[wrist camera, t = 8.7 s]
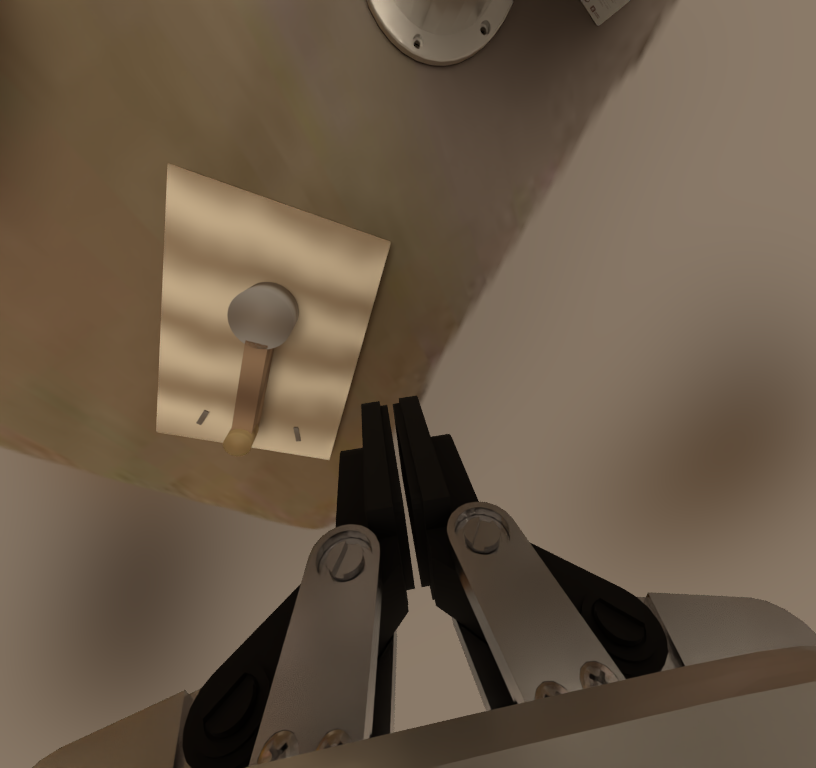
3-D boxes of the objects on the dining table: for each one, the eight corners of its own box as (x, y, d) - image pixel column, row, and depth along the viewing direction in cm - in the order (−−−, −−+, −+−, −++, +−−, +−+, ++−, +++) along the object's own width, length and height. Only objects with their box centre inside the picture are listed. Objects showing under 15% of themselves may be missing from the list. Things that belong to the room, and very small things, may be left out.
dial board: (185, 169, 28) (166, 162, 25) (387, 240, 33) (391, 242, 30) (170, 417, 37) (155, 433, 34) (330, 444, 42) (329, 460, 39)
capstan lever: (246, 274, 29) (227, 283, 25) (303, 291, 31) (295, 302, 26) (222, 436, 36) (204, 466, 31) (271, 444, 37) (260, 474, 33)
